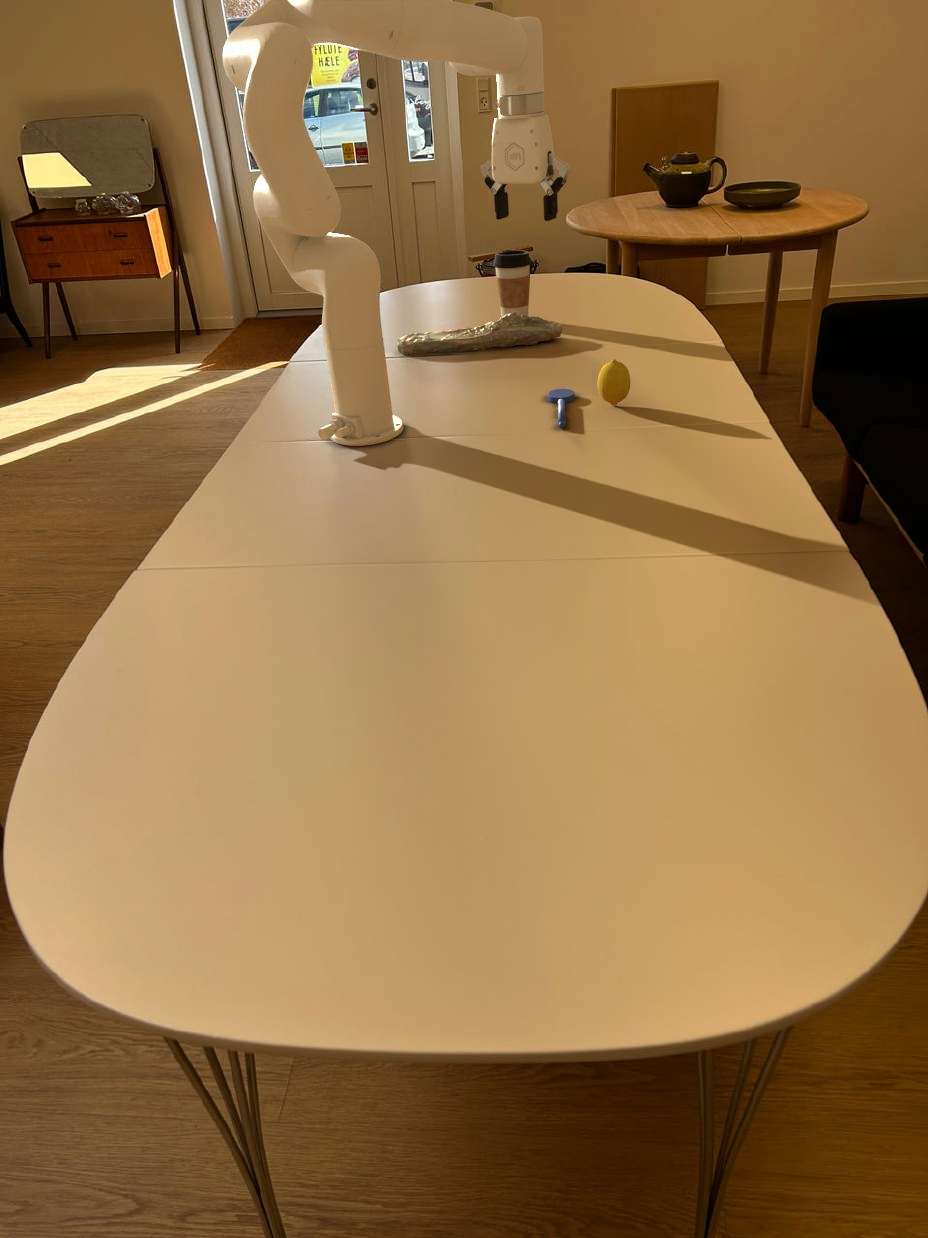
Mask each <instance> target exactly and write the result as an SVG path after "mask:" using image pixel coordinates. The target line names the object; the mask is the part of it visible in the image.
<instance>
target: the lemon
mask: <svg viewBox="0 0 928 1238" xmlns="http://www.w3.org/2000/svg"><path fill="white" fill-rule="evenodd" d="M597 389H598V393H599V396H600V397H601V399H602V400H603V401H605V402H607V403H609V404H610V405H611V406H612V407H615V406H616V405H618V403H620V402H622V401H624V400H625V399H626V398H627V396H628V395H629V393H630V390H631V374H630V371H629V369H628V367H627V366H626V365H625V364H624V363H623V362H620V361H618V360H617V359H611V360H610V361H609V362H607V363H605V364H604V365H603V366H602V368H600V370H599V374H598V377H597Z"/></svg>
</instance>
